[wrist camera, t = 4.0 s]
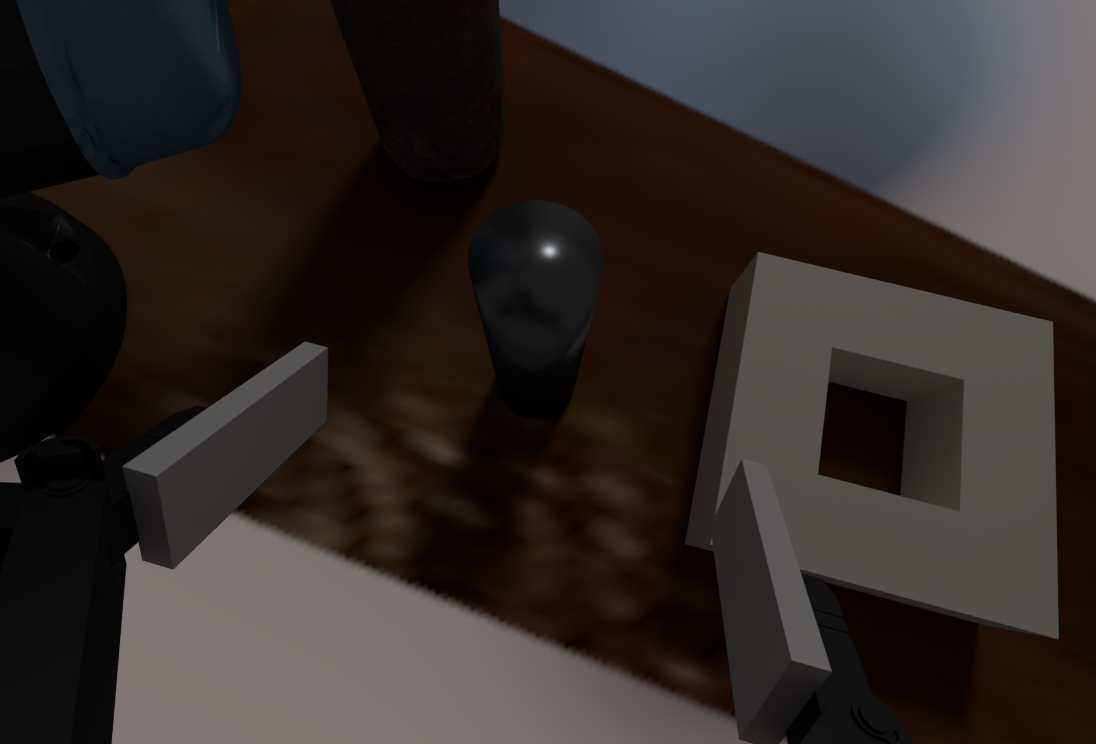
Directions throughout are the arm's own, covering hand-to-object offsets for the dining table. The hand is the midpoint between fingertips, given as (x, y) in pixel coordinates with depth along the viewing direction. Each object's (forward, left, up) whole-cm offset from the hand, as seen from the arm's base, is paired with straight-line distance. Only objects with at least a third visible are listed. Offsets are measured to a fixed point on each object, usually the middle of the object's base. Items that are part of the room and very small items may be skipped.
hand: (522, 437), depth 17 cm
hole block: (+15, +6, -10) cm, 19 cm away
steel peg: (-1, +5, -10) cm, 12 cm away
